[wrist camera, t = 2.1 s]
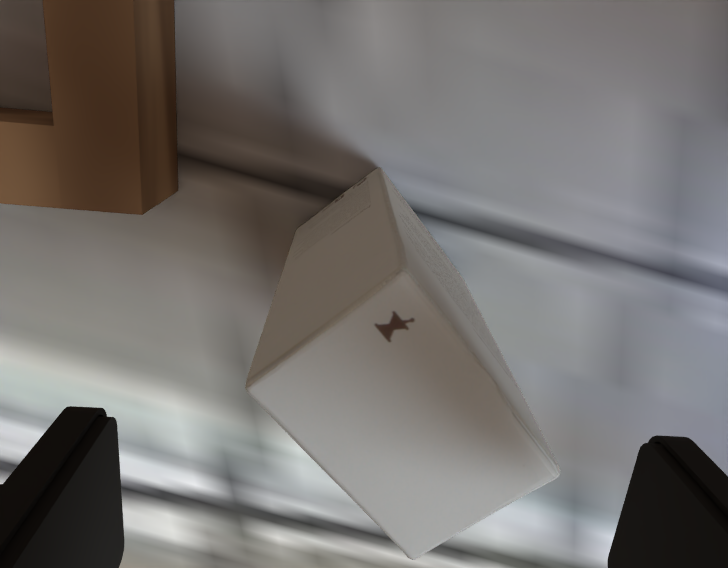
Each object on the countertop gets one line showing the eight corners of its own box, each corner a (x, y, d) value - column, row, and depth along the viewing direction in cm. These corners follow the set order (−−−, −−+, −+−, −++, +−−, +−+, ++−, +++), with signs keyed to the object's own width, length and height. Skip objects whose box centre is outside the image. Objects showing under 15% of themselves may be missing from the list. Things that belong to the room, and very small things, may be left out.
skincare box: (291, 229, 23) (231, 384, 11) (379, 163, 22) (407, 258, 11) (384, 341, 24) (410, 570, 13) (468, 283, 24) (573, 475, 12)
